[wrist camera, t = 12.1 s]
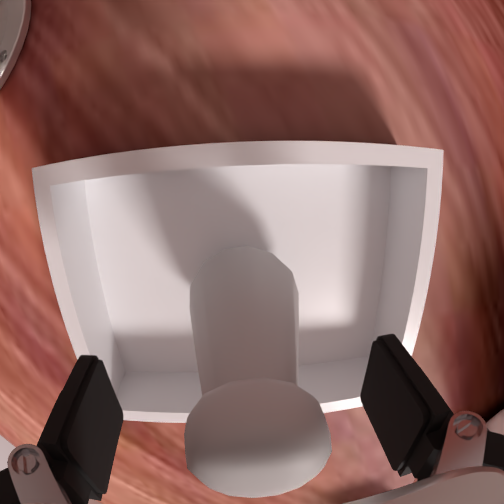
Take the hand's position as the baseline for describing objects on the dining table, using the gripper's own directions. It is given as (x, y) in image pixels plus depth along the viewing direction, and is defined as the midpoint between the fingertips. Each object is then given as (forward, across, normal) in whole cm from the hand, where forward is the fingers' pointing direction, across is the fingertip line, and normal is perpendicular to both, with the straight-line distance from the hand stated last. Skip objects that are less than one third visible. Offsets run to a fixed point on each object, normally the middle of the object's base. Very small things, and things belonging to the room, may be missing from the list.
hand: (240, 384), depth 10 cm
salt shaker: (+10, -1, +1) cm, 10 cm away
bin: (+10, -1, +1) cm, 10 cm away
